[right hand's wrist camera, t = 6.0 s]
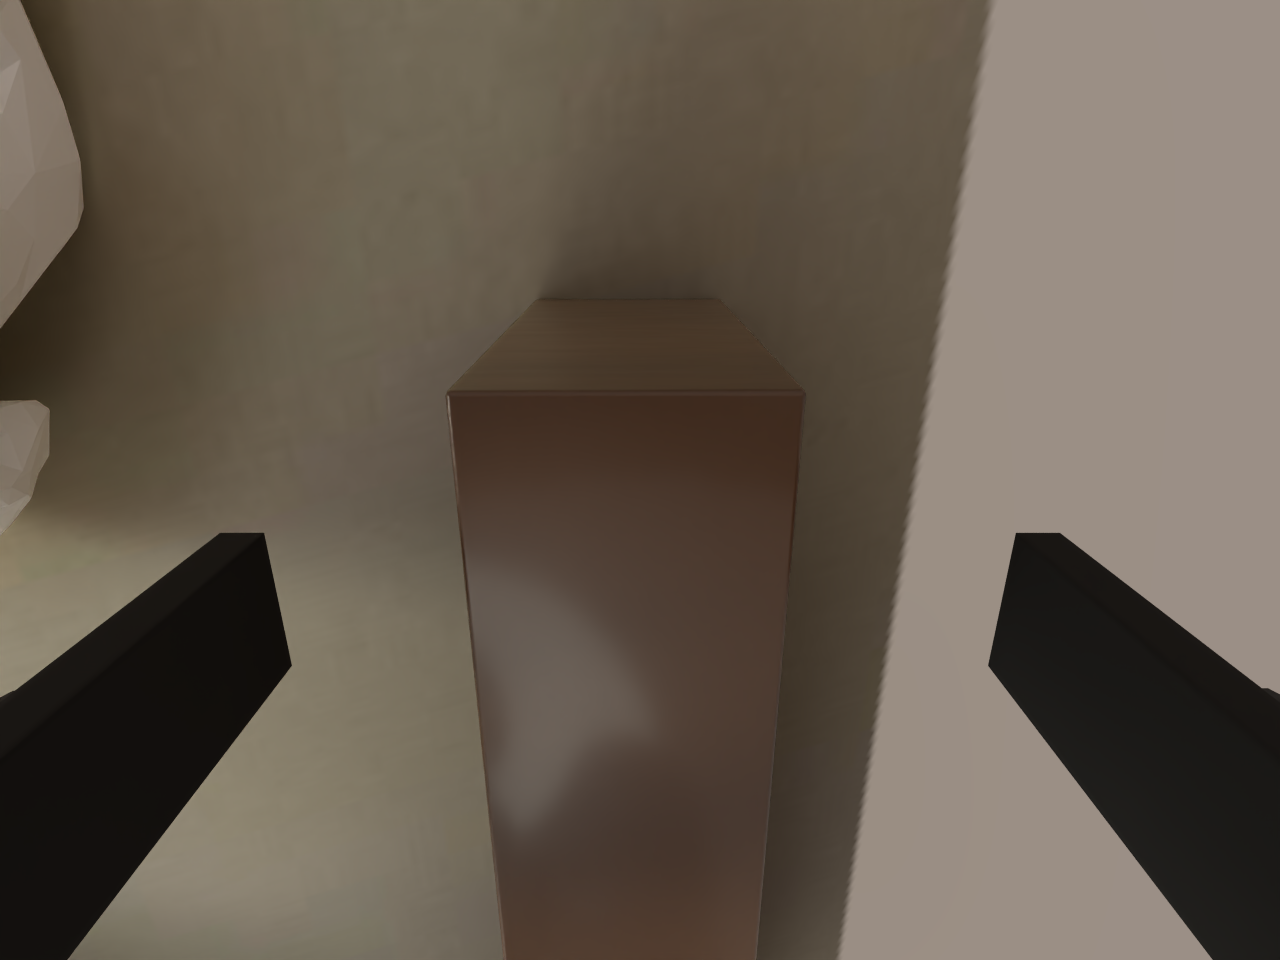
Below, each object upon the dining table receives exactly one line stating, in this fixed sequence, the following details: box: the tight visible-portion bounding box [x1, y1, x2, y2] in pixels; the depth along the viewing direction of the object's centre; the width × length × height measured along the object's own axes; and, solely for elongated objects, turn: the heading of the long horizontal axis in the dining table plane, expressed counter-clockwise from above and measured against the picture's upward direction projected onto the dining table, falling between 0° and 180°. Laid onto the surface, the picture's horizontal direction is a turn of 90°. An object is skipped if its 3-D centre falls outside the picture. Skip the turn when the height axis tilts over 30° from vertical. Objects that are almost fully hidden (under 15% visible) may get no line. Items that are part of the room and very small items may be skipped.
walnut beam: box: [446, 299, 806, 960], centre depth 21 cm, size 34×5×10 cm, turn 0°
